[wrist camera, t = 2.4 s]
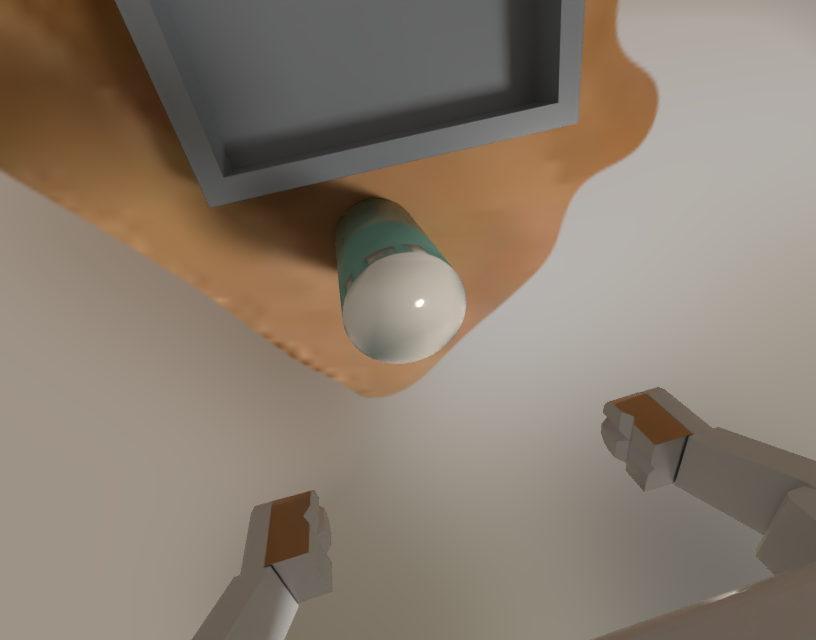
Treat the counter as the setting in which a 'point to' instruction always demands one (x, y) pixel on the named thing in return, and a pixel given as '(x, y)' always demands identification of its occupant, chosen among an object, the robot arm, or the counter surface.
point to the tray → (351, 82)
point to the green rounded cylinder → (394, 284)
